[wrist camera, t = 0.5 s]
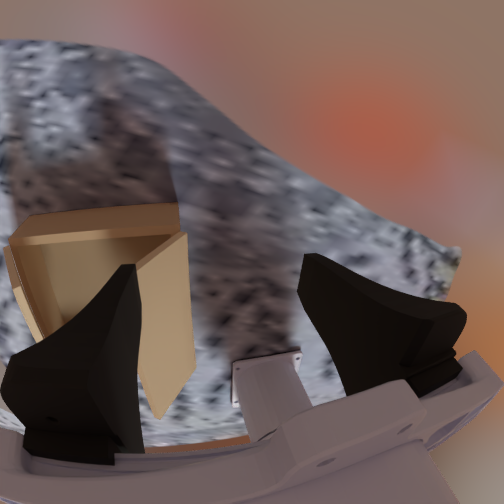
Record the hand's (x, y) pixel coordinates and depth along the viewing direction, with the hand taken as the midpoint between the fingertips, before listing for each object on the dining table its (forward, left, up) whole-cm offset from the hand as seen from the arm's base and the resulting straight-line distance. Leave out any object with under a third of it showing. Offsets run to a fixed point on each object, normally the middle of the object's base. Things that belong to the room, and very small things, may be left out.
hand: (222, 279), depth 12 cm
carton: (-7, +8, -10) cm, 14 cm away
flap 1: (-7, +12, -4) cm, 14 cm away
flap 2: (-7, +3, -4) cm, 8 cm away
